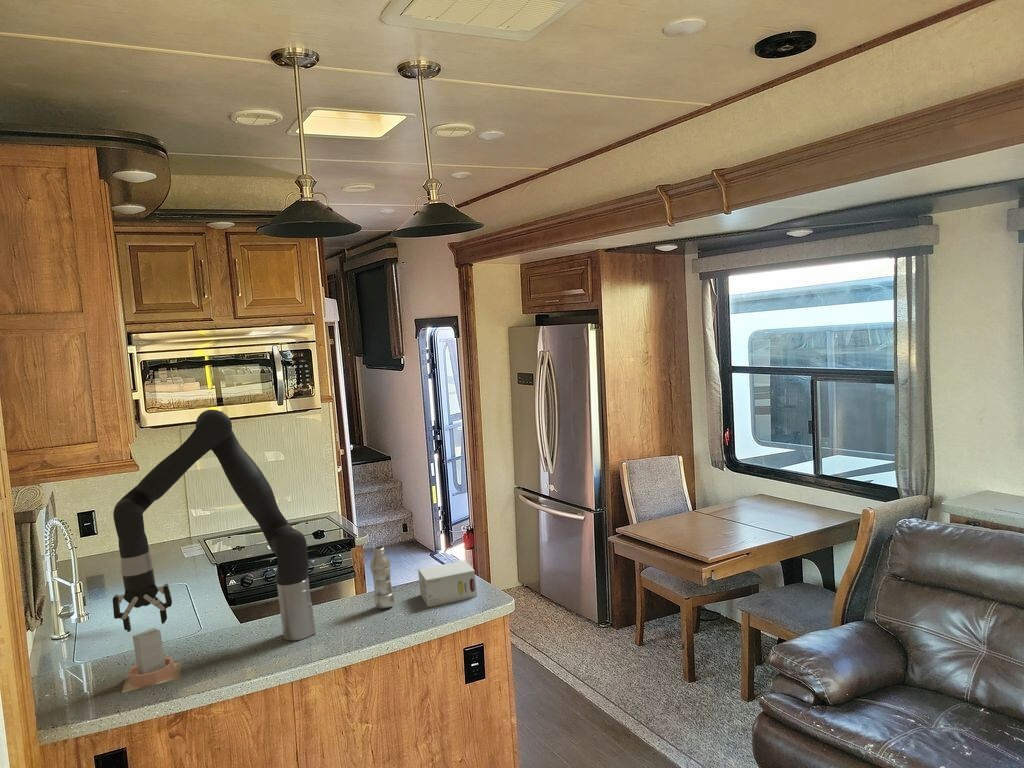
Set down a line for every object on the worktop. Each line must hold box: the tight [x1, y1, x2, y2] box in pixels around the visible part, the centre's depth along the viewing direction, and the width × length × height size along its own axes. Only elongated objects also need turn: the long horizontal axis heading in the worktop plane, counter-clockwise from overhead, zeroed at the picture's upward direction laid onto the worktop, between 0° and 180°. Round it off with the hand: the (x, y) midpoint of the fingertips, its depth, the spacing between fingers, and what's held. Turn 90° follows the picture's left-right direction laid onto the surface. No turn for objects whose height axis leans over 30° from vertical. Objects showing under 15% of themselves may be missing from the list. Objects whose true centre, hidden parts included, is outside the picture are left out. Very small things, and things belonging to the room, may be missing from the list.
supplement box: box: [417, 559, 478, 608], centre depth 238 cm, size 17×13×9 cm
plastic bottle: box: [369, 545, 396, 610], centre depth 233 cm, size 6×7×20 cm
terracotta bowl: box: [128, 656, 175, 687], centre depth 197 cm, size 11×11×3 cm
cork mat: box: [121, 661, 182, 693], centre depth 197 cm, size 14×12×1 cm
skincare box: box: [132, 627, 166, 674], centre depth 197 cm, size 6×4×12 cm
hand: (146, 626), depth 197 cm, fingers open, 8 cm apart
